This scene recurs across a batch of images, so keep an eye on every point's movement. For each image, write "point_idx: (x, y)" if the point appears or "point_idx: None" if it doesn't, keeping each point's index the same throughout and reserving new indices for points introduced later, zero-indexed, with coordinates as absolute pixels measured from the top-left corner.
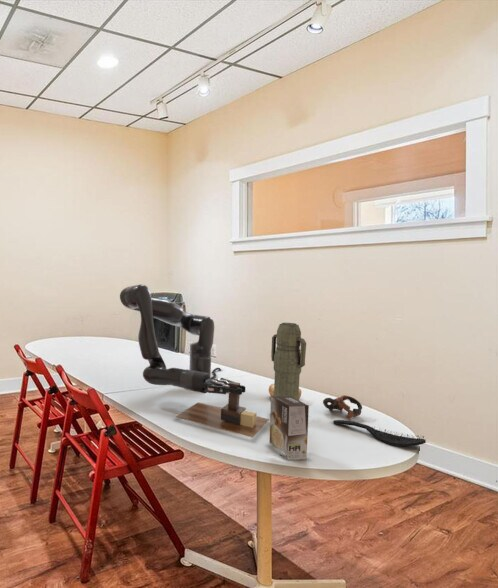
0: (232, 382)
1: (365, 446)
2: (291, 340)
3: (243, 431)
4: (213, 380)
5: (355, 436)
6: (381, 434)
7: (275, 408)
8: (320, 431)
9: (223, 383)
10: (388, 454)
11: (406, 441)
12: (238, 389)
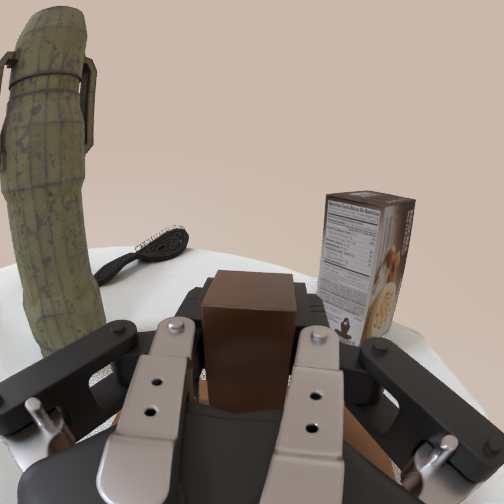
0: (241, 298)
1: (203, 269)
2: (83, 57)
3: (345, 416)
4: (316, 492)
5: (159, 274)
6: (148, 253)
7: (395, 234)
8: (156, 302)
9: (306, 366)
10: (221, 258)
11: (173, 241)
12: (308, 297)
